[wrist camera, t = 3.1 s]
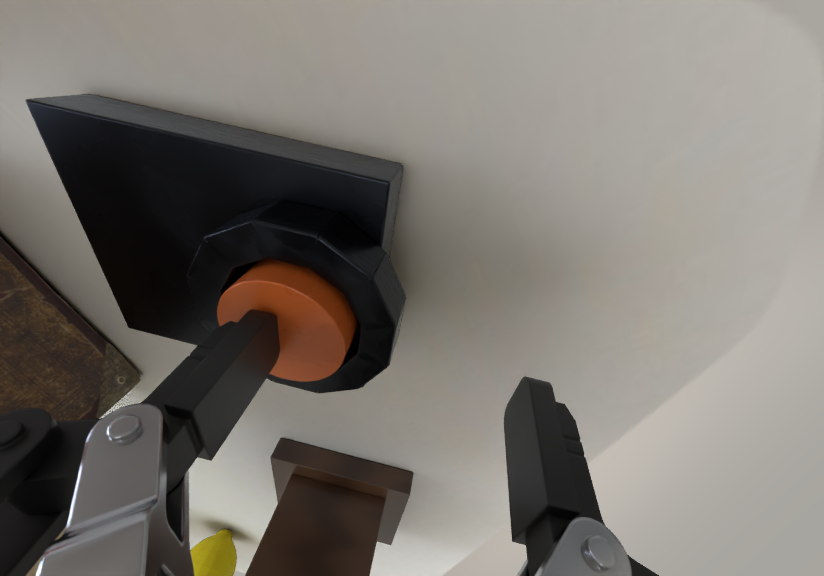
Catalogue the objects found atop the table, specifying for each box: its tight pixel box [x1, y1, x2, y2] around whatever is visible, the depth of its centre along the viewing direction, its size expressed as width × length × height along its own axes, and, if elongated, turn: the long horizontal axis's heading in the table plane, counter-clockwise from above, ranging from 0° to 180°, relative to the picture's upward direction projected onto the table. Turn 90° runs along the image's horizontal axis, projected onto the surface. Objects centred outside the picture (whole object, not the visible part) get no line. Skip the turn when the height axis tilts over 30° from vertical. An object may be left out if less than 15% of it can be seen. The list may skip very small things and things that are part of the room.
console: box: [26, 94, 406, 393], centre depth 13 cm, size 13×10×4 cm
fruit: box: [190, 529, 237, 576], centre depth 35 cm, size 6×6×8 cm
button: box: [217, 258, 360, 382], centre depth 12 cm, size 4×4×2 cm
